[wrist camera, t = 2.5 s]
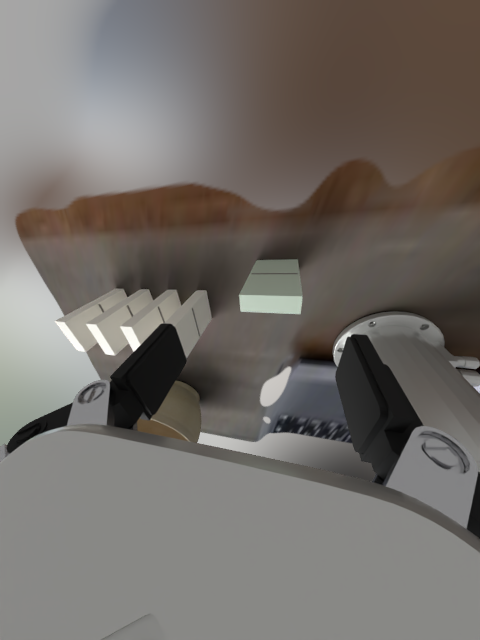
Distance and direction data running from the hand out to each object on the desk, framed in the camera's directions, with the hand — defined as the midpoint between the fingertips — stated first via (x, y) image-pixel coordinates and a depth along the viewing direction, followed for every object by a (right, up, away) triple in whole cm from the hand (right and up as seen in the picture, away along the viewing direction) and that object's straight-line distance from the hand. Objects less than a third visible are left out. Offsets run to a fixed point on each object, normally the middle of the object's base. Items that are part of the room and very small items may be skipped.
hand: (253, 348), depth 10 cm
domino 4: (-6, +4, +19) cm, 20 cm away
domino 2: (-16, +5, +21) cm, 27 cm away
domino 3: (-11, +4, +20) cm, 23 cm away
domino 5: (+4, +8, +13) cm, 16 cm away
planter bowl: (-15, -16, +35) cm, 41 cm away
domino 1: (-21, +5, +22) cm, 31 cm away
